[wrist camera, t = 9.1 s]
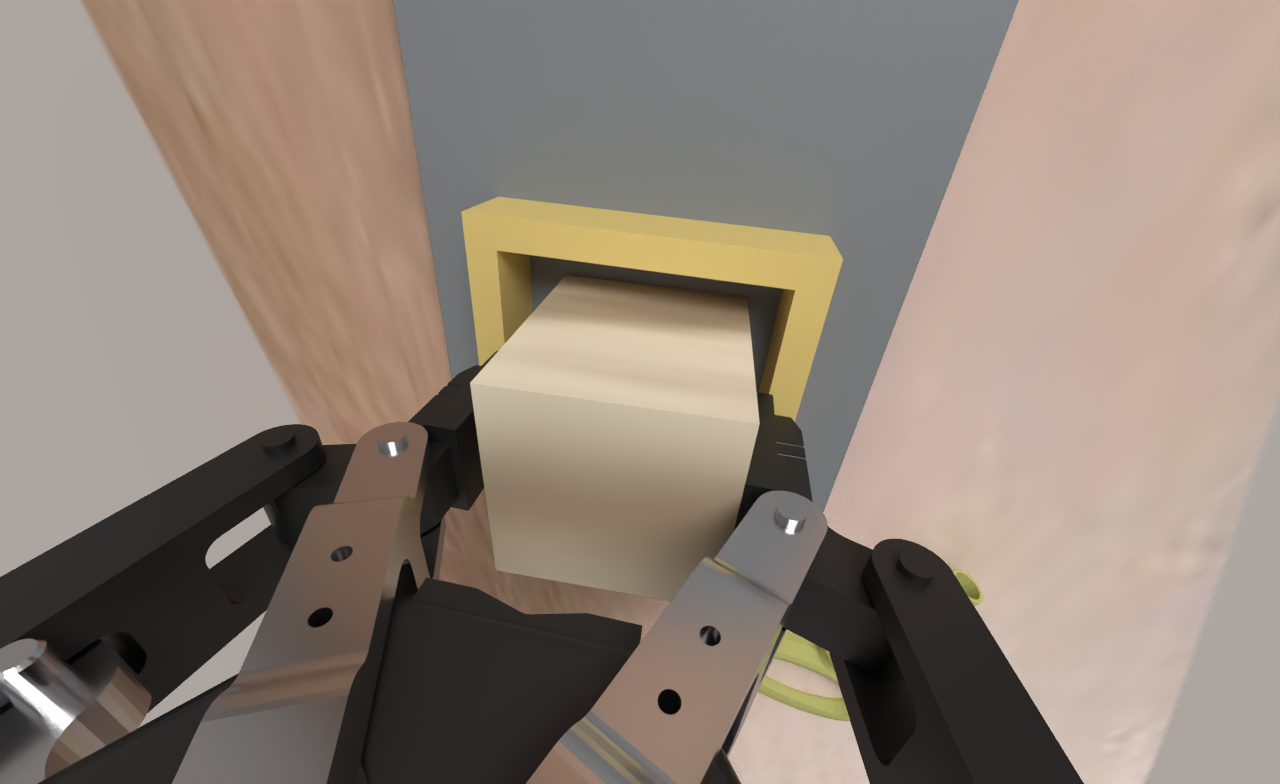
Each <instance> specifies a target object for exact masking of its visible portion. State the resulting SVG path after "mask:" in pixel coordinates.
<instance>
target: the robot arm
mask: <svg viewBox="0 0 1280 784" xmlns="http://www.w3.org/2000/svg"><path fill="white" fill-rule="evenodd" d="M497 352H498V351H496V352H495V353H494V354H493V355H492V356H491V357H490V358H489V359H488V360H487V361H486V362H485V363H484V364H483V365H482V366H478V365H475V366H473V367H471V368H469V369H467V370H465V371H462V372H460V373H458V374H457V375H456V376H455V377H454V378H453V379H452V380H451V381H450V382H449V383H448V386H445V387H444V388H443V389H442V390H441V391H440V392H439V394H438V395H436V396H435V397H433V398H432V399H431V400H430V401H429V402H428V403H427V404H426V405H425V406H424V407H423V408H422V409H421V410H420V411H419V412H418V413H417V414H416V415H415V416H414V417H413V418H412V419H411V420H410V421H408V422H394V423H389V424H385V425H381V426H379V427H376V428H374V429H372V430H370V431H369V432H367V433H365V434H364V435H363V436H362V437H361V438H360V439H359V441H358V443H357V444H342V445H322V443H321V440H320V437H319V434H318V432H317V430H315V429H314V428H312V427H310V426H307V425H300V424H297V425H296V424H293V425H284V426H279V427H275V428H271V429H268V430H266V431H263V432H261V433H259V434H257V435H255V436H253V437H251V438H249V439H248V440H246V441H244V442H242V443H240V444H239V445H237V446H235V447H233V448H231V449H230V450H228V451H226V452H224V453H222V454H221V455H219V456H217V457H216V458H214V459H212V460H210V461H208V462H206V463H204V464H203V465H201V466H199V467H197V468H195V469H194V470H192V471H190V472H188V473H186V474H185V475H183V476H181V477H179V478H177V479H176V480H174V481H172V482H170V483H169V484H167V485H165V486H163V487H161V488H160V489H158V490H156V491H154V492H152V493H151V494H149V495H147V496H145V497H144V498H142V499H140V500H138V501H136V502H134V503H133V504H131V505H129V506H127V507H125V508H124V509H122V510H120V511H118V512H116V513H115V514H113V515H111V516H109V517H108V518H106V519H104V520H102V521H100V522H99V523H97V524H95V525H93V526H91V527H90V528H88V529H86V530H84V531H82V532H81V533H79V534H77V535H75V536H74V537H72V538H70V539H68V540H66V541H64V542H63V543H61V544H59V545H57V546H55V547H54V548H52V549H50V550H48V551H46V552H45V553H43V554H41V555H39V556H37V557H36V558H34V559H32V560H30V561H29V562H27V563H25V564H23V565H21V566H19V567H18V568H16V569H14V570H12V571H10V572H9V573H7V574H5V575H3V576H2V577H0V784H741V783H740V781H739V779H738V777H737V775H736V773H735V771H734V769H733V767H732V765H731V763H730V762H729V760H728V756H729V754H730V752H731V750H732V748H733V746H734V743H735V741H736V739H737V737H738V735H739V733H740V730H741V728H742V726H743V724H744V722H745V719H746V717H747V715H748V712H749V710H750V708H751V705H752V703H753V701H754V699H755V696H756V694H757V692H758V690H759V688H760V686H761V684H762V681H763V679H764V677H765V675H766V673H767V671H768V669H769V667H770V665H771V663H772V660H773V658H774V656H775V654H776V652H777V650H778V648H779V646H780V644H781V641H782V639H783V637H784V635H785V633H786V631H787V630H789V631H791V632H793V633H795V634H797V635H799V636H800V637H802V638H804V639H806V640H808V641H810V642H812V643H814V644H815V645H817V646H819V647H821V648H823V649H825V650H827V651H829V653H830V657H831V661H832V664H833V667H834V670H835V673H836V677H837V680H838V683H839V686H840V689H841V693H842V696H843V699H844V702H845V705H846V709H847V712H848V715H849V718H850V721H851V725H852V728H853V731H854V734H855V737H856V741H857V744H858V747H859V750H860V753H861V757H862V760H863V763H864V766H865V769H866V773H867V776H868V779H869V782H870V784H1084V783H1083V782H1082V780H1081V778H1080V777H1079V775H1078V773H1077V772H1076V770H1075V769H1074V767H1073V765H1072V764H1071V762H1070V761H1069V759H1068V757H1067V756H1066V754H1065V752H1064V751H1063V749H1062V748H1061V746H1060V744H1059V743H1058V741H1057V740H1056V738H1055V736H1054V735H1053V733H1052V731H1051V730H1050V728H1049V727H1048V725H1047V723H1046V722H1045V720H1044V718H1043V717H1042V715H1041V714H1040V712H1039V710H1038V709H1037V707H1036V706H1035V704H1034V702H1033V701H1032V699H1031V697H1030V696H1029V694H1028V693H1027V691H1026V689H1025V688H1024V686H1023V685H1022V683H1021V681H1020V680H1019V678H1018V676H1017V675H1016V673H1015V672H1014V670H1013V668H1012V667H1011V665H1010V664H1009V662H1008V660H1007V659H1006V657H1005V655H1004V654H1003V652H1002V651H1001V649H1000V647H999V646H998V644H997V642H996V641H995V639H994V638H993V636H992V634H991V633H990V631H989V630H988V628H987V626H986V625H985V623H984V621H983V620H982V618H981V617H980V615H979V613H978V612H977V610H976V609H975V607H974V605H973V604H972V602H971V600H970V599H969V597H968V596H967V594H966V592H965V591H964V589H963V588H962V586H961V584H960V583H959V581H958V579H957V578H956V576H955V575H954V573H953V572H952V570H951V569H950V567H949V566H948V565H947V564H946V563H945V562H944V561H943V560H942V559H941V558H940V557H939V556H937V555H936V554H935V553H933V552H932V551H930V550H928V549H927V548H925V547H923V546H921V545H919V544H916V543H914V542H911V541H907V540H902V539H887V540H884V541H881V542H879V543H878V544H877V545H876V546H875V547H874V549H873V550H872V549H870V548H867V547H865V546H863V545H860V544H858V543H856V542H854V541H851V540H849V539H847V538H845V537H843V536H841V535H839V534H838V533H836V532H835V531H833V530H832V529H831V528H829V527H828V525H827V520H826V518H825V515H824V514H823V512H822V511H821V510H820V509H819V507H818V506H817V505H815V504H814V503H813V500H812V494H811V487H810V481H809V475H808V468H807V462H806V460H805V458H806V455H805V449H804V442H803V436H802V431H801V430H800V428H799V427H798V426H797V424H796V423H795V422H794V420H793V419H792V418H791V417H785V416H779V415H775V413H774V400H773V395H772V394H766V393H759V392H757V402H758V412H759V422H760V425H759V429H758V433H757V437H756V441H755V445H754V449H753V453H752V458H751V462H750V466H749V470H748V474H747V478H746V482H745V486H744V490H743V495H742V499H741V503H740V507H739V511H738V515H737V519H736V523H735V528H734V532H733V534H732V535H731V536H730V538H729V539H728V541H727V542H726V543H725V545H724V546H723V548H722V549H721V550H720V552H719V553H718V555H717V556H716V557H715V558H714V559H712V558H711V557H709V556H707V557H705V558H704V559H703V560H702V561H701V562H700V563H699V565H698V566H697V567H696V569H695V570H694V571H693V573H692V574H691V575H690V577H689V578H688V579H687V581H686V582H685V583H684V585H683V586H682V587H681V589H680V590H679V592H678V593H677V594H676V596H675V597H674V598H673V600H672V601H671V602H670V604H669V605H668V606H667V608H666V609H665V610H664V612H663V613H662V614H661V616H660V617H659V618H658V620H657V621H656V623H655V624H654V625H653V627H652V628H651V629H650V631H649V632H648V633H647V635H646V636H645V637H644V639H643V640H642V641H641V643H640V640H641V632H642V626H641V625H637V624H632V623H628V622H624V621H619V620H615V619H610V618H606V617H601V616H597V615H592V614H588V613H579V614H534V615H531V614H524V613H522V612H519V611H518V610H516V609H514V608H512V607H510V606H508V605H506V604H505V603H503V602H501V601H499V600H497V599H495V598H493V597H492V596H490V595H488V594H486V593H484V592H482V591H480V590H479V589H476V588H472V587H467V586H463V585H458V584H454V583H449V582H445V581H440V580H439V575H440V567H441V559H442V552H443V544H444V536H445V528H446V523H445V518H444V515H445V514H446V512H447V511H448V510H449V508H450V507H453V508H458V509H463V510H468V511H469V509H470V508H471V506H472V505H473V503H474V502H475V500H476V499H477V497H478V496H479V494H480V493H481V491H482V490H483V488H484V482H483V474H482V467H481V460H480V452H479V445H478V438H477V430H476V423H475V416H474V409H473V401H472V394H471V387H470V382H471V381H472V380H473V379H474V378H475V377H476V376H477V375H478V373H479V372H480V371H481V370H482V369H483V368H484V367H485V366H486V364H487V363H488V362H489V361H490V360H491V359H492V358H493V357H494V355H495V354H496V353H497ZM262 507H264V510H265V512H266V514H267V516H268V518H269V520H270V523H271V525H270V526H268V527H267V528H266V529H264V530H263V531H262V532H260V533H259V534H257V535H256V536H255V537H253V538H252V539H251V540H249V541H248V542H246V543H245V544H244V545H242V546H241V547H240V548H238V549H237V550H235V551H234V552H233V553H231V554H230V555H229V556H227V557H226V558H224V559H223V560H222V561H220V562H219V563H218V564H216V565H215V566H213V567H212V568H211V569H209V568H208V567H207V565H206V562H205V556H206V553H207V551H208V549H209V547H210V545H211V544H212V543H213V542H214V541H215V540H216V539H217V538H219V537H220V536H221V535H223V534H224V533H226V532H227V531H228V530H230V529H231V528H233V527H235V526H236V525H237V524H239V523H240V522H242V521H243V520H245V519H246V518H248V517H249V516H251V515H252V514H253V513H255V512H256V511H258V510H259V509H261V508H262ZM266 610H267V611H266ZM265 611H266V613H265V615H264V618H263V620H262V622H261V625H260V627H259V629H258V631H257V634H256V636H255V638H254V640H253V643H252V645H251V647H250V649H249V652H248V654H247V656H246V658H245V661H244V663H243V665H242V667H241V670H240V672H239V674H237V675H235V676H233V677H231V678H229V679H227V680H226V681H224V682H222V683H220V684H218V685H217V686H215V687H213V688H211V689H209V690H207V691H205V692H204V693H202V694H200V695H198V696H196V697H195V698H193V699H191V700H189V701H187V702H185V703H184V704H182V705H180V706H178V707H176V708H174V709H172V710H171V711H169V712H167V713H165V714H163V715H161V716H160V717H158V718H156V719H154V720H152V721H151V722H149V723H147V724H145V725H143V726H141V727H139V726H140V724H141V723H142V721H143V720H144V718H145V716H146V714H147V713H148V712H149V711H150V710H151V709H153V708H154V707H155V706H156V705H157V704H158V703H160V702H161V701H162V700H163V699H164V698H165V697H167V696H168V695H169V694H170V693H171V692H172V691H174V690H175V689H176V688H177V687H178V686H179V685H180V684H182V683H183V682H184V681H185V680H186V679H187V678H189V677H190V675H192V674H193V673H194V672H195V671H197V670H198V669H199V668H200V667H201V666H202V665H204V663H206V662H207V661H208V660H209V659H210V658H211V657H213V656H214V655H215V654H216V653H217V652H219V651H220V650H221V649H222V648H223V647H224V646H225V645H226V644H228V643H229V642H230V641H231V640H232V639H233V638H235V637H236V636H237V635H238V634H239V633H240V632H242V631H243V630H244V629H245V628H246V627H247V626H249V625H250V624H251V623H252V622H253V621H254V620H256V618H258V617H259V616H260V615H261V614H262V613H264V612H265ZM138 727H139V728H138ZM137 728H138V729H137Z"/></svg>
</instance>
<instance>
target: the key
mask: <svg viewBox="0 0 1280 784" xmlns="http://www.w3.org/2000/svg"><path fill="white" fill-rule="evenodd" d="M952 572H953V573H954V575H955V576H956V578H957V579H958V581H959V583H960V584H961V586H962V588H963V589H964V591H965V592H966V594H967V596H968V597H969V599H970V600H971V602H972V604H973V605H974V606H975V605H977V604H979V603H982V601H983V595H982V592H981V590H980V588H979V586H978V585H977V583H976V582H975V581H974V580H973V579H972V578H971V577H970V576H969V575H968V574H967V573H965V572H964V571H962V570H959V569H956V570H953V571H952ZM774 658H775V659H780V660H784V661H787V662H790V663H794V664H796V665H799V666H801V667H804V668H807V669H809V670H811V671H814V672H816V673H818V674H820V675H823V676H824V677H826V678H828V679H830V680H832V681H834V682H836V683H837V684H839V683H838V680H837V677H836V673H835V670H834V667H833V664H832V661H831V657H830V653H829V651H827V650H825V649H823V648H821V647H819V646H817V645H815V644H814V643H812V642H810V641H808V640H806V639H804V638H802V637H800V636H799V635H797V634H794V633H791V632H787V631H786V633H785V635H784V637H783V639H782V641H781V644H780V646H779V648H778V650H777V652H776V654H775V656H774ZM758 692H760V693H762V694H764V695H766V696H768V697H770V698H773V699H775V700H777V701H779V702H782V703H784V704H787V705H789V706H791V707H794V708H796V709H799V710H802V711H805V712H808V713H811V714H814V715H818V716H822V717H825V718H830V719H834V720H842V721H850V718H849V715H848V712H847V709H846V705H845V702H844V699H843V698H827V697H822V696H817V695H812V694H808V693H804V692H801V691H798V690H795V689H793V688H790V687H787V686H785V685H783V684H780V683H778V682H776V681H774V680H772V679H770V678H769V677H767V676H765V677H764V679H763V681H762V684H761V686H760V688H759V690H758Z"/></svg>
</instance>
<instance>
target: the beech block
mask: <svg viewBox="0 0 1280 784" xmlns="http://www.w3.org/2000/svg"><path fill="white" fill-rule="evenodd" d="M470 387H471V394H472V401H473V409H474V416H475V423H476V430H477V438H478V445H479V452H480V460H481V467H482V474H483V482H484V489H485V496H486V503H487V511H488V518H489V525H490V533H491V540H492V547H493V554H494V562H495V569H496V570H497V571H502V572H508V573H514V574H519V575H525V576H530V577H536V578H542V579H547V580H553V581H559V582H564V583H570V584H575V585H581V586H587V587H592V588H598V589H604V590H609V591H615V592H620V593H626V594H632V595H637V596H643V597H649V598H654V599H660V600H665V601H672V600H673V598H674V597H675V596H676V594H677V593H678V592H679V590H680V589H681V587H682V586H683V585H684V583H685V582H686V581H687V579H688V578H689V577H690V575H691V574H692V573H693V571H694V570H695V569H696V567H697V566H698V565H699V563H700V562H701V561H702V560H703V559H704V558H705V557H707V556H709V557H711V558H712V559H714V558H715V557H716V556H717V555H718V553H719V552H720V550H721V549H722V548H723V546H724V545H725V543H726V542H727V541H728V539H729V538H730V536H731V535H732V534H733V532H734V528H735V523H736V519H737V515H738V511H739V507H740V503H741V499H742V495H743V490H744V486H745V482H746V478H747V474H748V470H749V466H750V462H751V458H752V453H753V449H754V445H755V441H756V437H757V433H758V429H759V425H760V422H759V412H758V402H757V392H756V382H755V372H754V361H753V351H752V341H751V331H750V321H749V311H748V301H747V296H740V295H731V294H723V293H714V292H706V291H697V290H689V289H680V288H672V287H663V286H654V285H646V284H637V283H629V282H620V281H612V280H603V279H595V278H586V277H578V276H569V275H566V276H565V277H564V278H563V279H562V280H561V281H560V282H559V284H558V285H557V286H556V287H555V288H554V289H553V290H552V291H551V293H550V294H549V295H548V296H547V297H546V298H545V299H544V300H543V302H542V303H541V304H540V305H539V306H538V307H537V308H536V309H535V311H534V312H533V313H532V314H531V315H530V316H529V317H528V318H527V320H526V321H525V322H524V323H523V324H522V325H521V326H520V327H519V329H518V330H517V331H516V332H515V333H514V334H513V335H512V336H511V338H510V339H509V340H508V341H507V342H506V343H505V344H504V345H503V346H502V348H501V349H500V350H499V351H498V352H497V353H496V354H495V355H494V357H493V358H492V359H491V360H490V361H489V362H488V363H487V364H486V366H485V367H484V368H483V369H482V370H481V371H480V372H479V373H478V375H477V376H476V377H475V378H474V379H473V380H472V381H471V382H470Z"/></svg>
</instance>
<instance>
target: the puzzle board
mask: <svg viewBox="0 0 1280 784" xmlns="http://www.w3.org/2000/svg"><path fill="white" fill-rule="evenodd" d="M1018 1H1019V0H393V2H394V9H395V15H396V22H397V28H398V35H399V41H400V48H401V54H402V61H403V67H404V74H405V80H406V87H407V93H408V99H409V106H410V112H411V119H412V125H413V132H414V138H415V145H416V151H417V158H418V164H419V171H420V177H421V184H422V190H423V197H424V203H425V209H426V216H427V222H428V229H429V235H430V242H431V248H432V255H433V261H434V268H435V274H436V281H437V287H438V294H439V300H440V307H441V313H442V319H443V326H444V332H445V339H446V345H447V352H448V358H449V365H450V371H451V378H452V379H453V378H454V377H455V376H456V375H457V374H458V373H460V372H462V371H465V370H467V369H469V368H471V367H473V366H475V365H478V366H482V365H483V364H484V363H485V362H486V361H487V360H488V359H489V358H490V357H491V356H492V355H493V354H494V353H495V352H496V351H499V350H500V349H501V348H502V346H503V345H504V344H505V343H506V342H507V341H508V340H509V339H510V338H511V336H512V335H513V334H514V333H515V332H516V331H517V330H518V329H519V327H520V326H521V325H522V324H523V323H524V322H525V321H526V320H527V318H528V317H529V316H530V315H531V314H532V313H533V312H534V311H535V309H536V308H537V307H538V306H539V305H540V304H541V303H542V302H543V300H544V299H545V298H546V297H547V296H548V295H549V294H550V293H551V291H552V290H553V289H554V288H555V287H556V286H557V285H558V284H559V282H560V281H561V280H562V279H563V278H564V277H565V276H566V275H569V276H578V277H586V278H595V279H603V280H612V281H620V282H629V283H637V284H646V285H654V286H663V287H672V288H680V289H689V290H697V291H706V292H714V293H723V294H731V295H740V296H747V301H748V311H749V321H750V331H751V341H752V351H753V361H754V372H755V382H756V392H759V393H766V394H772V395H773V400H774V413H775V415H779V416H785V417H791V418H792V419H793V420H794V422H795V423H796V424H797V426H798V427H799V428H800V430H801V431H802V436H803V442H804V449H805V455H806V458H805V460H806V462H807V468H808V475H809V481H810V487H811V494H812V500H813V503H814V504H815V505H817V506H818V507H819V509H820V510H821V511H822V512H824V509H825V506H826V504H827V501H828V498H829V496H830V493H831V491H832V488H833V485H834V483H835V480H836V477H837V475H838V472H839V470H840V467H841V464H842V462H843V459H844V457H845V454H846V451H847V449H848V446H849V443H850V441H851V438H852V436H853V433H854V430H855V428H856V425H857V422H858V420H859V417H860V415H861V412H862V409H863V407H864V404H865V402H866V399H867V396H868V394H869V391H870V388H871V386H872V383H873V381H874V378H875V375H876V373H877V370H878V367H879V365H880V362H881V360H882V357H883V354H884V352H885V349H886V347H887V344H888V341H889V339H890V336H891V333H892V331H893V328H894V326H895V323H896V320H897V318H898V315H899V312H900V310H901V307H902V305H903V302H904V299H905V297H906V294H907V292H908V289H909V286H910V284H911V281H912V278H913V276H914V273H915V271H916V268H917V265H918V263H919V260H920V257H921V255H922V252H923V250H924V247H925V244H926V242H927V239H928V237H929V234H930V231H931V229H932V226H933V223H934V221H935V218H936V216H937V213H938V210H939V208H940V205H941V202H942V200H943V197H944V195H945V192H946V189H947V187H948V184H949V182H950V179H951V176H952V174H953V171H954V168H955V166H956V163H957V161H958V158H959V155H960V153H961V150H962V147H963V145H964V142H965V140H966V137H967V134H968V132H969V129H970V127H971V124H972V121H973V119H974V116H975V113H976V111H977V108H978V106H979V103H980V100H981V98H982V95H983V92H984V90H985V87H986V85H987V82H988V79H989V77H990V74H991V72H992V69H993V66H994V64H995V61H996V58H997V56H998V53H999V51H1000V48H1001V45H1002V43H1003V40H1004V38H1005V35H1006V32H1007V30H1008V27H1009V24H1010V22H1011V19H1012V17H1013V14H1014V11H1015V9H1016V6H1017V3H1018Z"/></svg>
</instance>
